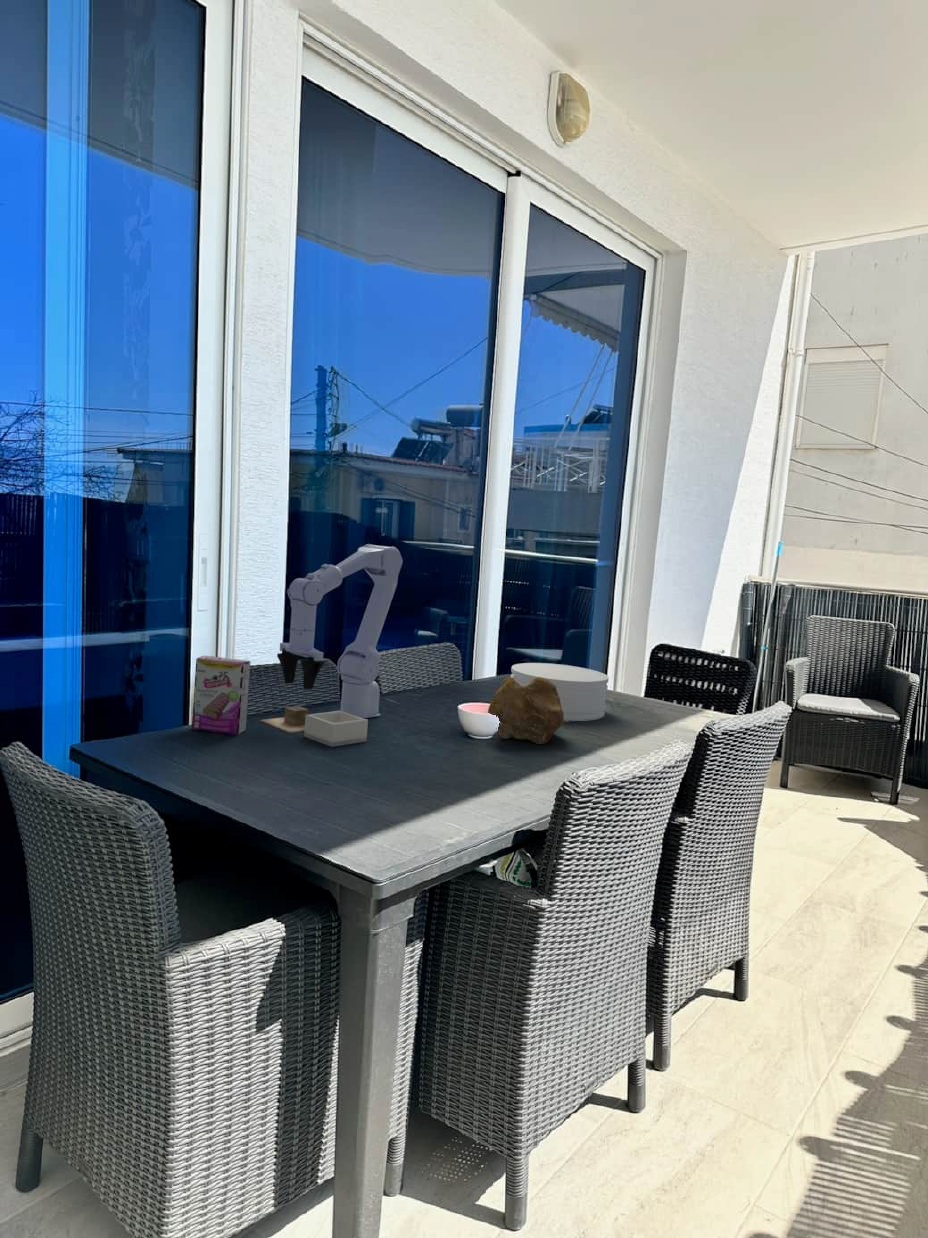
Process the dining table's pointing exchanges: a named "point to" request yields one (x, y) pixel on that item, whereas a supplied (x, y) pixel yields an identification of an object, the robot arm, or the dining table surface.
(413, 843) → the dining table surface
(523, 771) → the dining table surface
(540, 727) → the rough brown rock
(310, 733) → the dish
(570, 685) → the grey short cylinder
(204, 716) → the candy bar box
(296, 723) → the lid
